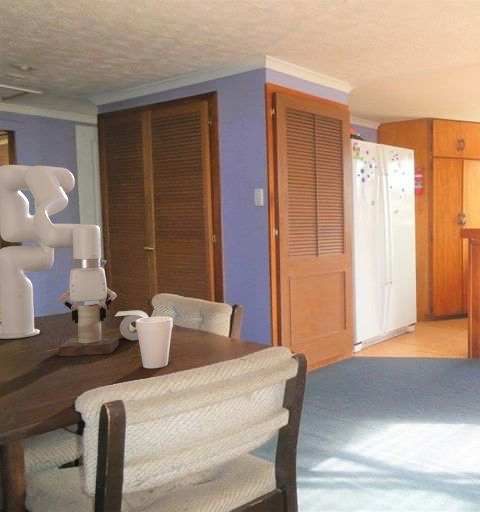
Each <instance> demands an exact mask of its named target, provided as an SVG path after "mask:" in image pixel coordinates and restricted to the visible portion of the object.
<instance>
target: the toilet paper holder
mask: <svg viewBox="0 0 480 512" xmlns="http://www.w3.org/2000/svg"><path fill="white" fill-rule="evenodd" d="M121 316H122V317H123V316H124V317H123V319H122V320H121V322H120V323H119V332H120V334H121V336H122V337H123V338H124V339H127V340H128V341H139V339H138V333H137V330H136V327H134V326H133V325H132V323H136V320H138V319H141V318H147V317H150V316H149V315H148V314H147V313H146V312H145V311H143V310H138V309H136V310H122V311H117V313H116V314H115V315H114V317H121Z"/></svg>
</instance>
